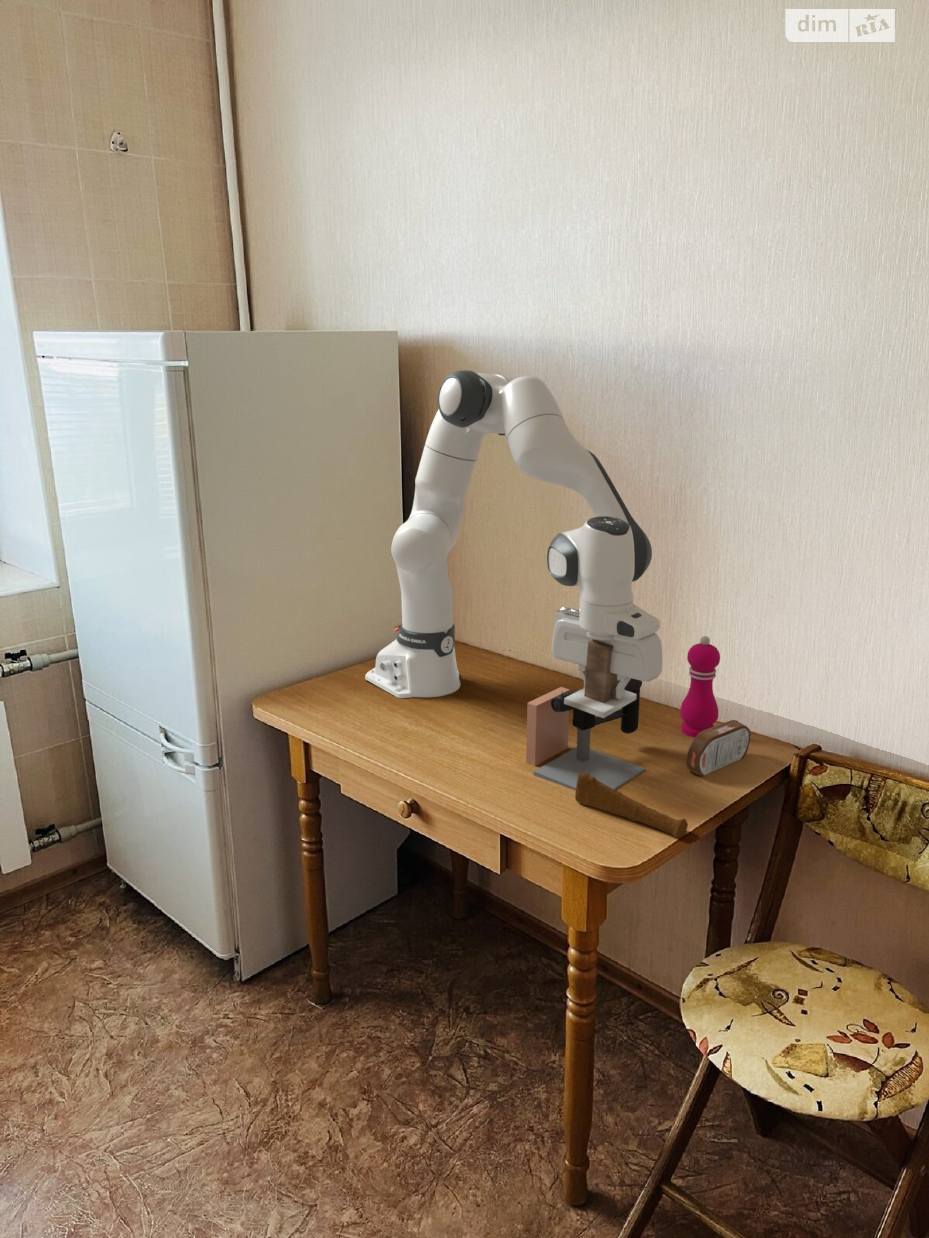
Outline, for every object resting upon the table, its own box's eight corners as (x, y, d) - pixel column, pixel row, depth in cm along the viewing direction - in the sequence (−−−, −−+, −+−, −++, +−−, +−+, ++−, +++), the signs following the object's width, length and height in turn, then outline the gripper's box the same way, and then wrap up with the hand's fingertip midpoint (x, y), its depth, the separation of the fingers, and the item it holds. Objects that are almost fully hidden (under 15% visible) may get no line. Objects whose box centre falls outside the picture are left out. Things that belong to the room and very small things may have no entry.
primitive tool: (576, 799, 153) (566, 808, 150) (579, 769, 151) (569, 777, 148) (687, 837, 143) (680, 846, 141) (692, 805, 142) (685, 814, 139)
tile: (525, 763, 167) (526, 702, 164) (558, 745, 174) (560, 686, 171) (534, 767, 166) (536, 705, 162) (567, 748, 173) (569, 689, 169)
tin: (737, 755, 170) (741, 713, 168) (751, 761, 168) (755, 718, 165) (683, 778, 162) (686, 734, 159) (697, 785, 160) (701, 741, 157)
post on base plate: (563, 703, 157) (567, 643, 153) (597, 685, 164) (601, 627, 160) (603, 718, 152) (608, 656, 148) (636, 699, 159) (641, 639, 155)
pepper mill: (705, 745, 174) (714, 645, 168) (671, 734, 179) (678, 637, 173) (723, 732, 179) (732, 635, 173) (689, 722, 184) (696, 627, 178)
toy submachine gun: (547, 772, 165) (550, 688, 160) (630, 744, 176) (634, 665, 171) (559, 779, 162) (562, 694, 158) (642, 750, 173) (647, 670, 168)
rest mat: (533, 776, 163) (533, 771, 162) (579, 750, 173) (579, 745, 172) (600, 802, 154) (600, 797, 153) (644, 773, 164) (644, 768, 163)
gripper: (544, 609, 158) (543, 684, 162) (648, 631, 145) (645, 713, 149) (566, 601, 163) (564, 674, 167) (669, 622, 150) (665, 701, 154)
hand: (603, 693), depth 158 cm, fingers closed on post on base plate, 4 cm apart
